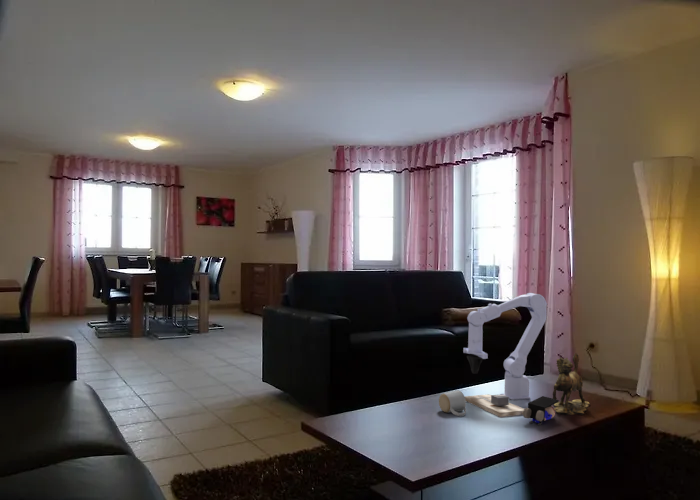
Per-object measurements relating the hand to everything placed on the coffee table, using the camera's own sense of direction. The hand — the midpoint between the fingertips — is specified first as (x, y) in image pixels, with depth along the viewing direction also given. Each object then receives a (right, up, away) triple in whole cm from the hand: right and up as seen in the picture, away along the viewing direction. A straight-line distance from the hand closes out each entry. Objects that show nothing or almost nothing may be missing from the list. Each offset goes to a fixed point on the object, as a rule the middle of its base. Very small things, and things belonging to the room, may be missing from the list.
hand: (474, 373), depth 213 cm
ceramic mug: (-13, -9, -24) cm, 29 cm away
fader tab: (+5, -7, -19) cm, 21 cm away
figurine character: (+15, -9, -33) cm, 37 cm away
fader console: (+4, -9, -16) cm, 19 cm away
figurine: (+34, -10, -14) cm, 39 cm away
